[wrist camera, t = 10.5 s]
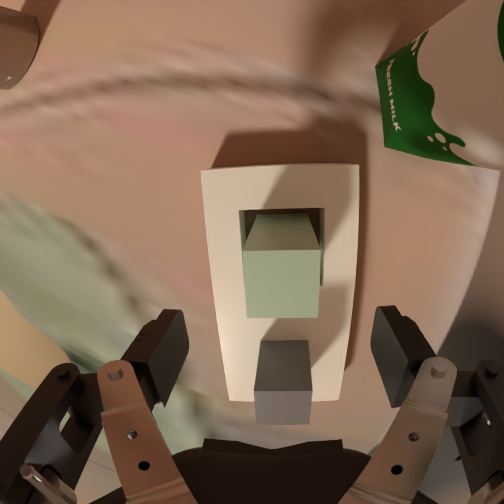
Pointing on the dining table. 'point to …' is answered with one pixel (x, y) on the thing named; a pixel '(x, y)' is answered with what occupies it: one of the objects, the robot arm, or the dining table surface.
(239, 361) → the white plate with window
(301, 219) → the green plug
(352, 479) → the robot arm
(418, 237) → the dining table surface
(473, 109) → the milk carton
